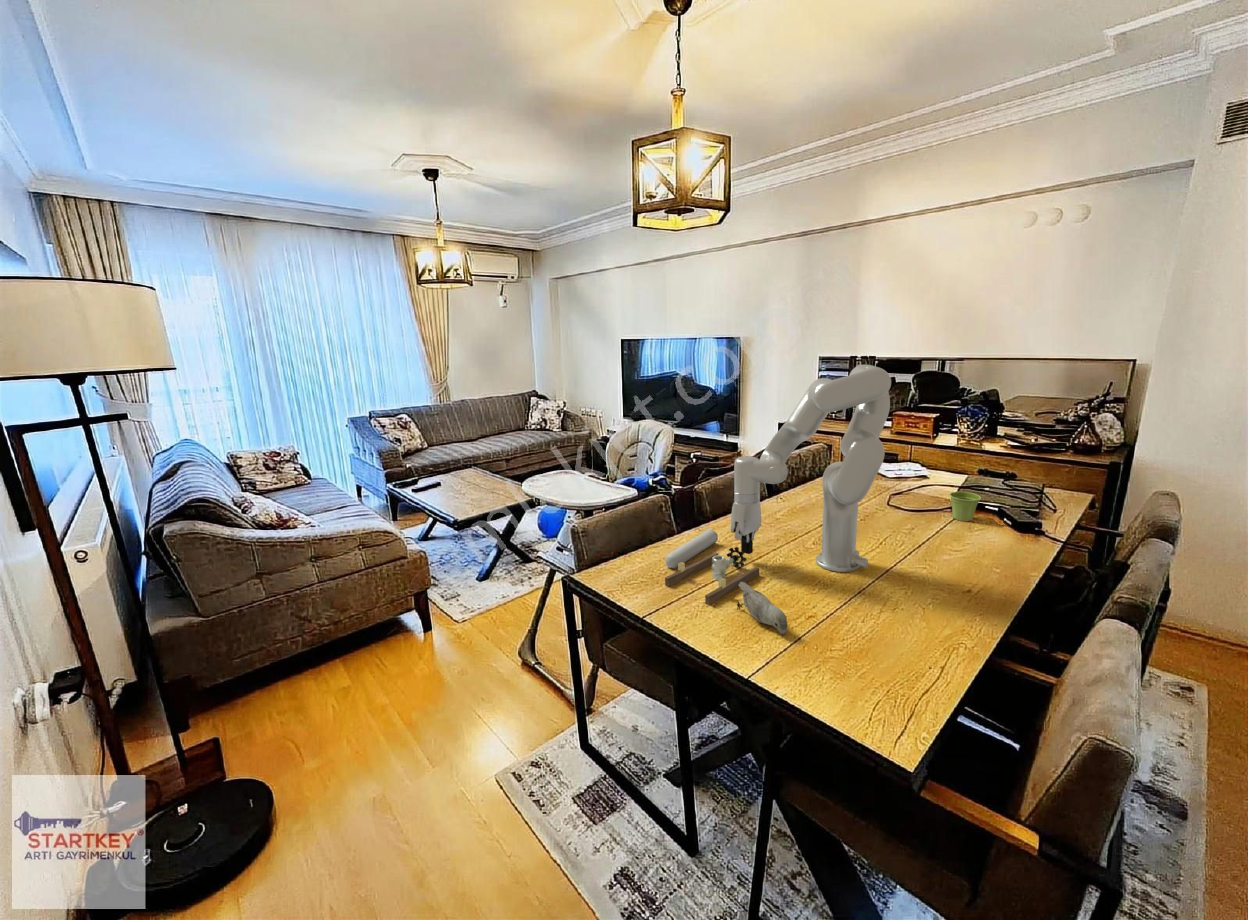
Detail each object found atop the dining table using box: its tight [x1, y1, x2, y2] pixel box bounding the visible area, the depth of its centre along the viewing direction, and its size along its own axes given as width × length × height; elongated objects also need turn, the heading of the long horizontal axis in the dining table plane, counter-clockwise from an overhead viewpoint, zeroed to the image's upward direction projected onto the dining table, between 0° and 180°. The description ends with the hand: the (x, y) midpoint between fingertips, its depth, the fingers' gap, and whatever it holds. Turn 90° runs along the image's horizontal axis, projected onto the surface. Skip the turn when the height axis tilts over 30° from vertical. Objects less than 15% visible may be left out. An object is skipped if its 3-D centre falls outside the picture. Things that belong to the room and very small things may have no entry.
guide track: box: [664, 552, 760, 606], centre depth 151 cm, size 16×23×5 cm
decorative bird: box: [736, 582, 788, 637], centre depth 128 cm, size 5×16×7 cm, turn 27°
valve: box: [711, 546, 748, 582], centre depth 154 cm, size 7×7×12 cm
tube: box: [664, 528, 719, 570], centre depth 168 cm, size 5×5×25 cm
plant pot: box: [949, 491, 982, 522], centre depth 184 cm, size 9×9×9 cm
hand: (746, 552), depth 161 cm, fingers closed
